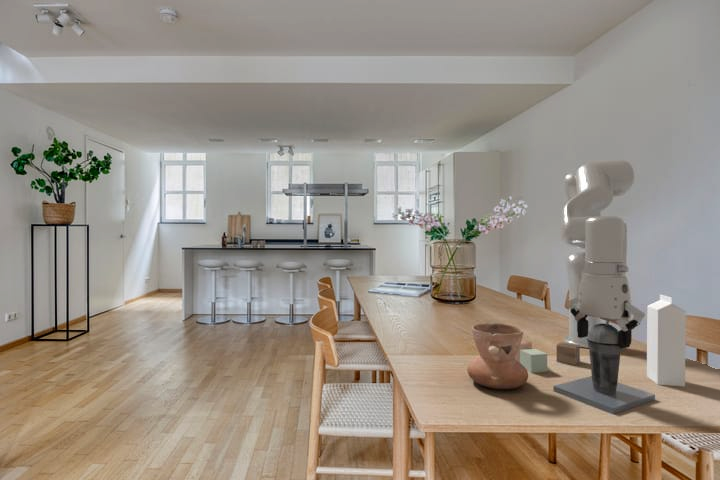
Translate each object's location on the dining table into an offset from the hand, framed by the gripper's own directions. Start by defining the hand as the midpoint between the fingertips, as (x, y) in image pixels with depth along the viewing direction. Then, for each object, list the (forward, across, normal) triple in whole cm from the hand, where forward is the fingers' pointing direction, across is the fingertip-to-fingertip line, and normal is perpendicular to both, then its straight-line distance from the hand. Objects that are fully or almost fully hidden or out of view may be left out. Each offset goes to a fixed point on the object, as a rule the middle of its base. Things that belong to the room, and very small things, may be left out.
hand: (602, 341), depth 93 cm
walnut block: (+13, +20, -15) cm, 28 cm away
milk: (+13, -2, -22) cm, 26 cm away
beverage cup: (+11, -1, +1) cm, 11 cm away
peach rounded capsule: (+13, +26, -2) cm, 29 cm away
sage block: (+13, +20, 0) cm, 23 cm away
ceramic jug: (+12, +16, +17) cm, 27 cm away
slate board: (+12, 0, +1) cm, 12 cm away
